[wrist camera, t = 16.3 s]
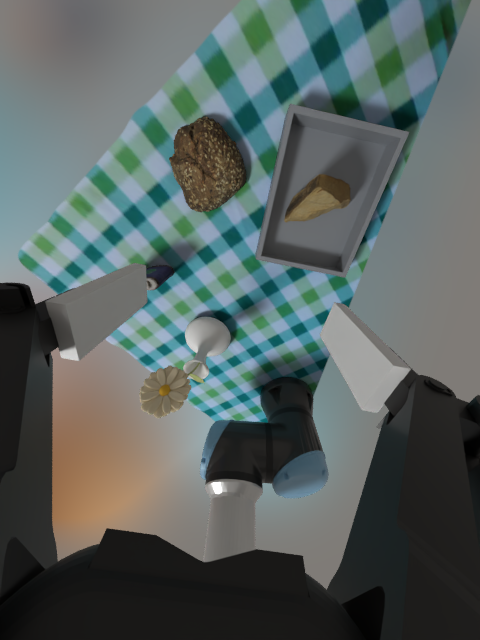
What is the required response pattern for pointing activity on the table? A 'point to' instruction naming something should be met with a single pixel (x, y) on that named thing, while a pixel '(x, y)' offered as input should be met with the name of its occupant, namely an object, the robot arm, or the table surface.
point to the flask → (157, 276)
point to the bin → (333, 160)
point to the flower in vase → (172, 383)
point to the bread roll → (207, 165)
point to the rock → (318, 198)
